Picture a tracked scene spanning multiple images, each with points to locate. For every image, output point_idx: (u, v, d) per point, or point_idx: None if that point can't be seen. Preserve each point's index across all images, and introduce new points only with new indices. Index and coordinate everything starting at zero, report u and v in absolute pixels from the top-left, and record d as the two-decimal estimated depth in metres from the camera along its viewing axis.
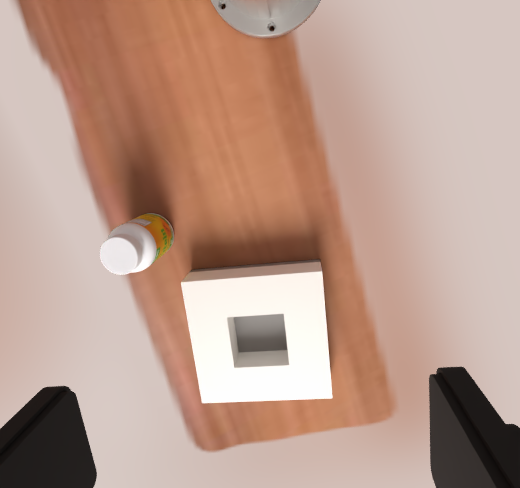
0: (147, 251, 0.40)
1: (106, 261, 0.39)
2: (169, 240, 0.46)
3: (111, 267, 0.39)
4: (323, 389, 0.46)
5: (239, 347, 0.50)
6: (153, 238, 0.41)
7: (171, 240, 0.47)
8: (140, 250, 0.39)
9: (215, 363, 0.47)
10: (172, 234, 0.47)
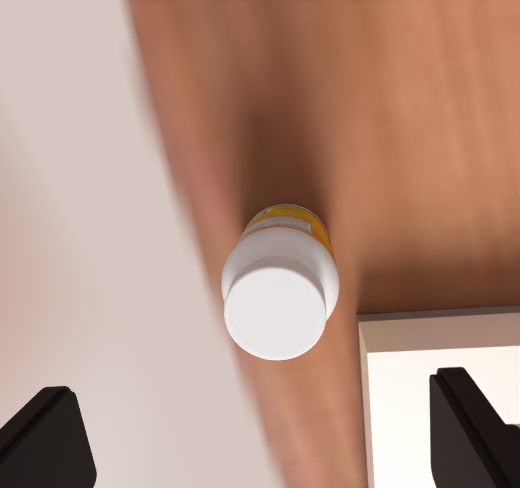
0: (327, 296, 0.17)
1: (241, 328, 0.15)
2: None
3: (252, 342, 0.15)
4: None
5: None
6: (334, 262, 0.17)
7: None
8: None
9: None
10: None
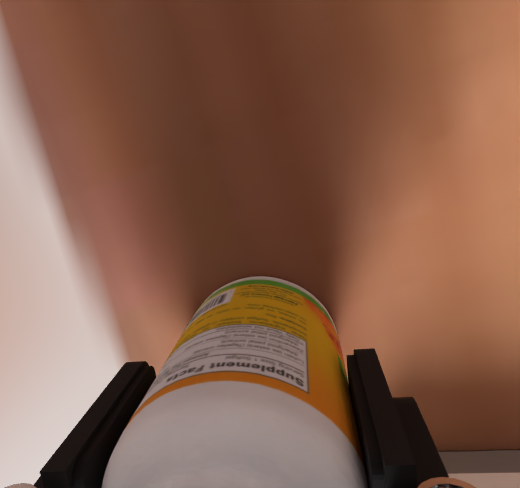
0: None
1: None
2: None
3: None
4: None
5: None
6: (360, 462, 0.07)
7: None
8: None
9: None
10: None
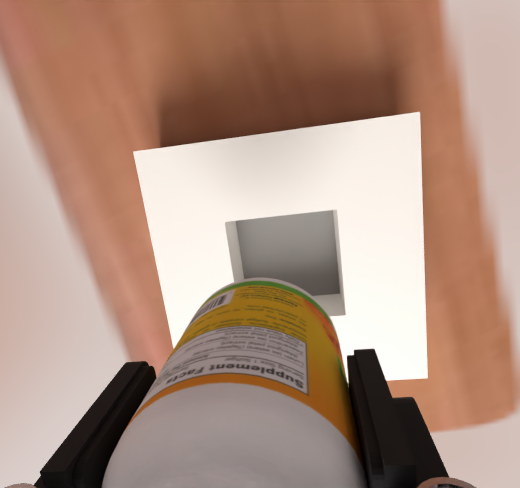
0: None
1: None
2: None
3: None
4: (410, 361, 0.24)
5: None
6: (360, 464, 0.07)
7: None
8: None
9: None
10: None
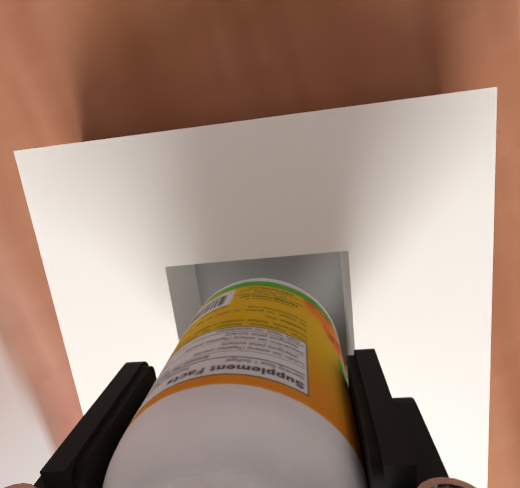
0: None
1: None
2: None
3: None
4: None
5: None
6: (361, 464, 0.07)
7: None
8: None
9: None
10: None
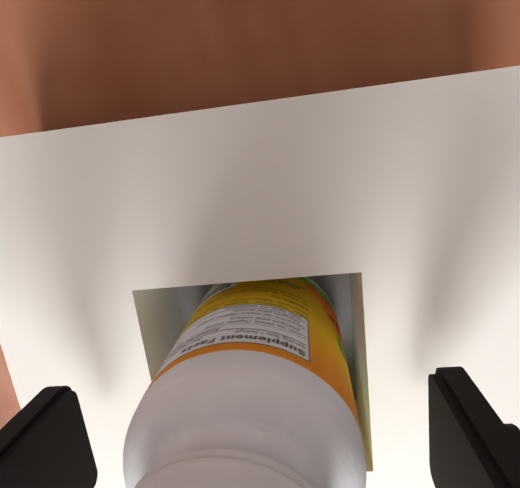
0: None
1: None
2: None
3: None
4: None
5: None
6: (356, 423, 0.08)
7: None
8: None
9: (104, 458, 0.13)
10: None
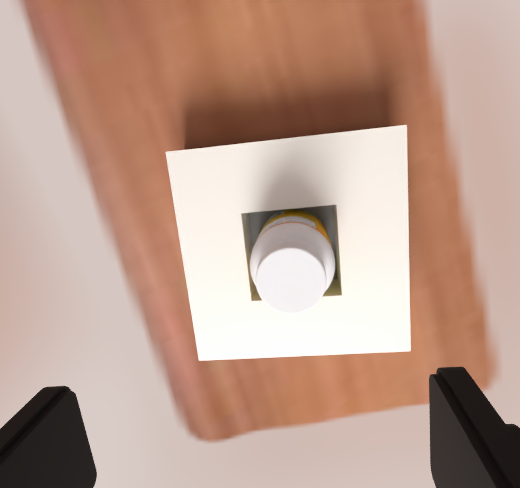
0: (326, 272, 0.23)
1: (267, 291, 0.22)
2: None
3: (275, 301, 0.22)
4: (396, 336, 0.28)
5: None
6: None
7: None
8: None
9: (221, 293, 0.29)
10: None
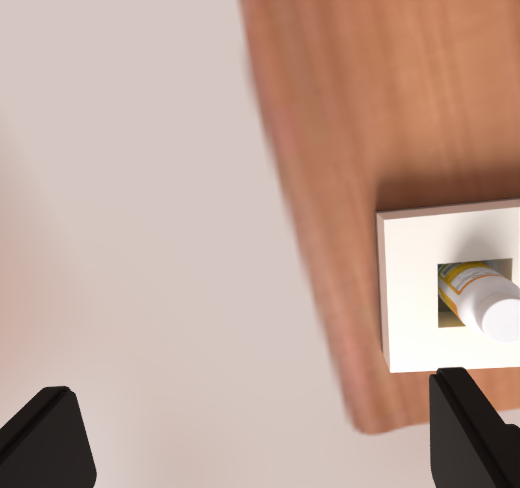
0: None
1: (490, 328, 0.31)
2: None
3: (495, 334, 0.31)
4: None
5: None
6: None
7: None
8: None
9: (414, 322, 0.38)
10: None
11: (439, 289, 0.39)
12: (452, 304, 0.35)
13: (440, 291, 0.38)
